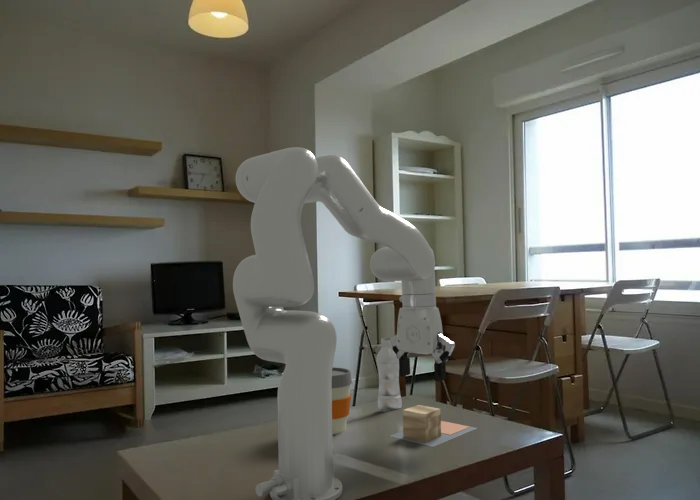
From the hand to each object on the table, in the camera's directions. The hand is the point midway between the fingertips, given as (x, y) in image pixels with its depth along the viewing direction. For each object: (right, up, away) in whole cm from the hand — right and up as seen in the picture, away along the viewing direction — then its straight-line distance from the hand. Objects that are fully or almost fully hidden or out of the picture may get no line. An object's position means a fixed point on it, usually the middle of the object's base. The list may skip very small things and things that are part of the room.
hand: (422, 377), depth 122 cm
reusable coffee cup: (-22, -15, +7) cm, 28 cm away
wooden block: (0, -13, -1) cm, 13 cm away
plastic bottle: (-5, -16, +27) cm, 32 cm away
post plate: (+3, -14, +2) cm, 15 cm away
